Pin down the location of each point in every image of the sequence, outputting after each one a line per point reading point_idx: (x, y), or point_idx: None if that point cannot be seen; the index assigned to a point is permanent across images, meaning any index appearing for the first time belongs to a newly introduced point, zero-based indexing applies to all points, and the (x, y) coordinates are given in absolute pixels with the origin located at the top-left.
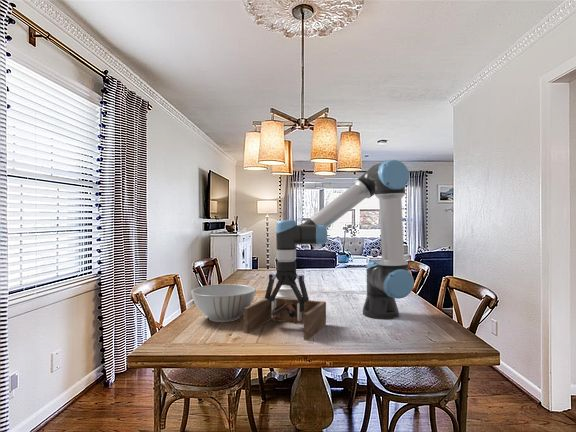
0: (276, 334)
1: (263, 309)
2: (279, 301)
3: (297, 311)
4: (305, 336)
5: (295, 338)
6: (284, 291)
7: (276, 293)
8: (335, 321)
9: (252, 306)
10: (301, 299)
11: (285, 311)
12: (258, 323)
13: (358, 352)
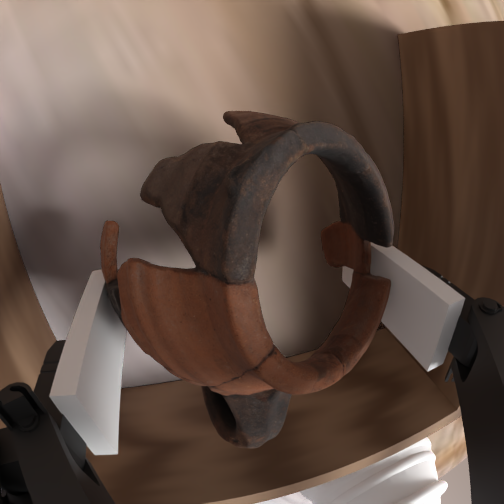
0: (212, 68)
1: None
2: (393, 426)
3: (91, 321)
4: None
5: (40, 68)
6: (393, 499)
7: (479, 416)
8: None
9: None
10: (23, 459)
11: (175, 177)
12: (415, 188)
13: None
